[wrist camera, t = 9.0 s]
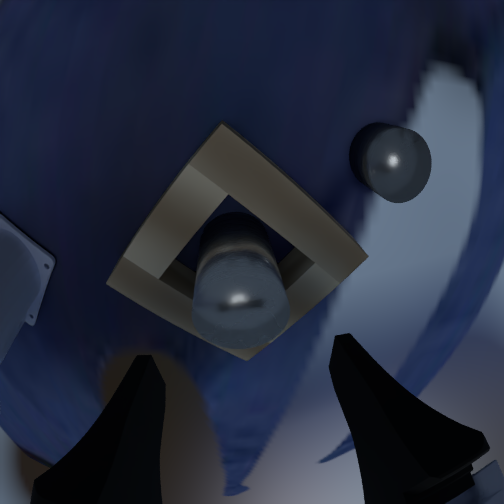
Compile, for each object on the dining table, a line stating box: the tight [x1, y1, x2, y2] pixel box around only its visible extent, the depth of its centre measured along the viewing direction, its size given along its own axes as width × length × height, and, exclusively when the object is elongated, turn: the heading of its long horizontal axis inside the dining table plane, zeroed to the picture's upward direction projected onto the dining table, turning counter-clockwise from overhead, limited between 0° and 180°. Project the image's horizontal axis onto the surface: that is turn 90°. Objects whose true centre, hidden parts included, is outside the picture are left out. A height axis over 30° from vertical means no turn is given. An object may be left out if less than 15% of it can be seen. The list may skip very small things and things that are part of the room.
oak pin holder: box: [106, 120, 368, 361], centre depth 18 cm, size 12×12×3 cm
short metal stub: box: [349, 122, 431, 203], centre depth 15 cm, size 4×4×3 cm
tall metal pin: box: [192, 212, 290, 349], centre depth 16 cm, size 4×4×7 cm
